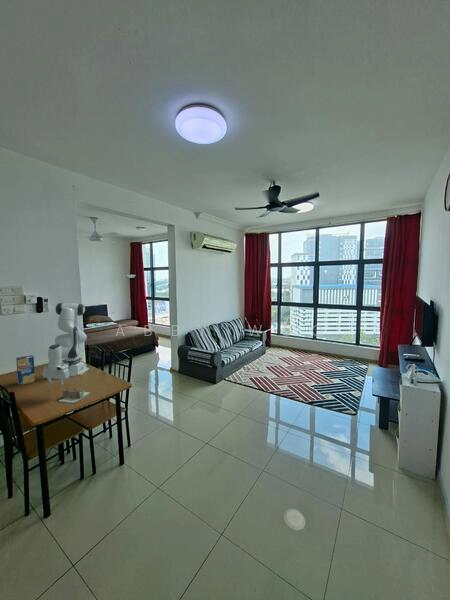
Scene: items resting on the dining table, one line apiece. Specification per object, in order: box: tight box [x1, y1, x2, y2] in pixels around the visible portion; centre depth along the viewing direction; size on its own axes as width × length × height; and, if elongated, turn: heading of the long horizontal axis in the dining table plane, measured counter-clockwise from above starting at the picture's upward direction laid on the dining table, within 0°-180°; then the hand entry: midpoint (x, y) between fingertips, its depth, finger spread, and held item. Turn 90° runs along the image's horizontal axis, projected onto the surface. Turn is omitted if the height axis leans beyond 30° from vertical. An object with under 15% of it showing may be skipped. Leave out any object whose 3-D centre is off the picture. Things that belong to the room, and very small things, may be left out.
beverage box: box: [16, 354, 36, 386], centre depth 208 cm, size 7×11×22 cm, turn 136°
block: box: [62, 387, 85, 399], centre depth 183 cm, size 5×5×14 cm
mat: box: [57, 391, 92, 404], centre depth 184 cm, size 16×14×1 cm
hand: (56, 383), depth 186 cm, fingers open, 8 cm apart
